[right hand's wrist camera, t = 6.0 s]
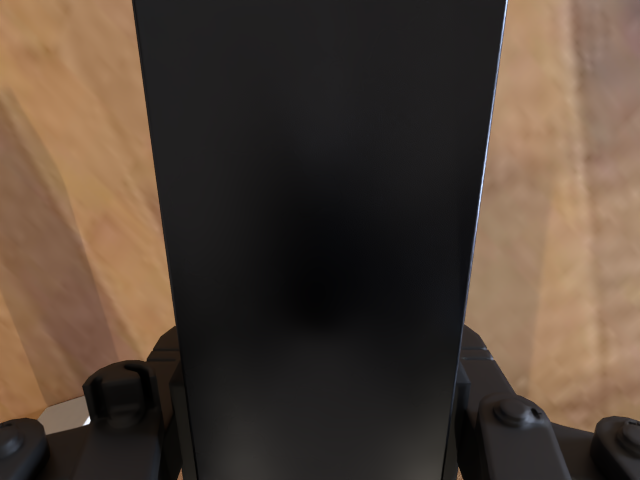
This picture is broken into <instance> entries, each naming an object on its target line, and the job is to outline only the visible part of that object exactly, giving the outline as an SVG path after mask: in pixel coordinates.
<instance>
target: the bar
mask: <svg viewBox="0 0 640 480" xmlns="http://www.w3.org/2000/svg"><path fill="white" fill-rule="evenodd" d="M132 5H133V12H134V20H135V27H136V34H137V42H138V49H139V57H140V64H141V71H142V79H143V86H144V94H145V101H146V108H147V116H148V123H149V131H150V138H151V145H152V153H153V160H154V167H155V175H156V182H157V190H158V197H159V204H160V212H161V219H162V227H163V234H164V241H165V249H166V256H167V264H168V271H169V278H170V286H171V293H172V301H173V308H174V315H175V323H176V330H177V337H178V345H179V352H180V360H181V367H182V374H183V382H184V389H185V397H186V404H187V411H188V419H189V426H190V434H191V441H192V448H193V456H194V463H195V471H196V478H197V480H443V475H444V468H445V461H446V453H447V446H448V439H449V431H450V424H451V416H452V409H453V402H454V394H455V387H456V380H457V372H458V365H459V358H460V350H461V343H462V336H463V328H464V321H465V314H466V306H467V299H468V291H469V284H470V277H471V269H472V262H473V255H474V247H475V240H476V233H477V225H478V218H479V211H480V203H481V196H482V189H483V181H484V174H485V166H486V159H487V152H488V144H489V137H490V130H491V122H492V115H493V108H494V100H495V93H496V86H497V78H498V71H499V64H500V56H501V49H502V41H503V34H504V27H505V19H506V12H507V5H508V0H132Z"/></svg>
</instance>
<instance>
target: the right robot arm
mask: <svg viewBox="0 0 640 480" xmlns="http://www.w3.org/2000/svg"><path fill="white" fill-rule="evenodd" d="M82 387H83V391H84V395H85V399H86V404H87V408H88V412H89V416H90V420H91V421H90V423H89V424H87V425H84V426H80V427H77V428H73V429H69V430H65V431H60V432H56V433H52V434H47V435H46V433H45V430H44V426H43V425H42V424H41V423H40V422H39V421H38V420H35V419H29V418H21V419H13V420H9V421H6V422H3V423H0V480H177V478H178V476H179V473H180V470H181V468H182V475H183V480H197V478H196V471H195V463H194V456H193V448H192V441H191V434H190V426H189V419H188V411H187V404H186V397H185V389H184V382H183V374H182V367H181V360H180V352H179V345H178V337H177V330H176V326H174V327H173V328H172V329H170V330H169V331H168V332H166V333H165V334H164V335H162V336H161V337H160V339H159V340H158V342H157V343H156V345H155V347H154V348H153V351H151V353H150V355H149V356H148V358H147V362H144V361H140V360H126V361H121V362H117V363H113V364H111V365H108V366H106V367H104V368H101V369H99V370H98V371H97V372H95V373H94V374H93V375H91V376H90V377H89V378H88V379H87V380H86V382H85V383H84V384H83V386H82ZM458 466H459V469H460V471H461V474H462V477H463V480H640V421H637V420H634V419H631V418H626V417H618V416H612V417H606V418H603V419H602V420H600V421H599V422H598V423H597V425H596V428H595V432H594V433H592V432H587V431H583V430H579V429H574V428H570V427H566V426H562V425H559V424H555V423H552V422H550V420H549V419H548V417H547V415H546V414H545V412H544V411H543V410H542V409H541V408H540V407H539V406H537V405H536V404H535V403H534V402H532V401H530V400H528V399H526V398H524V397H522V396H519V395H516V393H515V392H514V390H513V389H512V387H511V385H510V384H509V382H508V381H507V379H506V377H505V376H504V374H503V373H502V371H501V369H500V368H499V366H498V365H497V363H496V361H495V360H493V357H492V355H491V353H490V352H489V350H487V347H486V345H485V344H484V342H483V341H482V339H481V337H480V336H479V335H478V334H477V333H475V332H474V331H473V330H471V329H470V328H469V327H467V326H466V325H464V328H463V336H462V343H461V350H460V358H459V365H458V372H457V380H456V387H455V394H454V402H453V409H452V416H451V424H450V431H449V439H448V446H447V453H446V461H445V468H444V475H443V480H456V479H457V473H458Z"/></svg>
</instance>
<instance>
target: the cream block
mask: <svg viewBox="0 0 640 480" xmlns="http://www.w3.org/2000/svg"><path fill="white" fill-rule="evenodd" d="M37 420H38V421H39V422H40V423H41V424H42V425H43V426H44V430H45V433H46V435H47V434H52V433H56V432H60V431H65V430H69V429H73V428H77V427H80V426H84V425H87V424H89V423H90V421H91V420H90V416H89V412H88V408H87V404H86V399H85V396H82V397H78V398H75V399H72V400H69V401H66V402H63V403H60V404H56V405H53V406H50V407H47V408H46V409H45V410H44V412H43V413H42V414H41V415H40V417H39V418H38V419H37Z"/></svg>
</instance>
